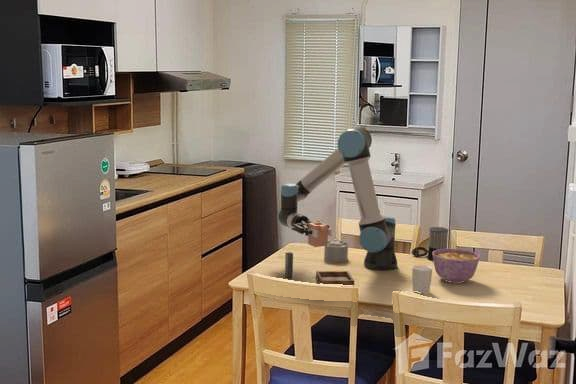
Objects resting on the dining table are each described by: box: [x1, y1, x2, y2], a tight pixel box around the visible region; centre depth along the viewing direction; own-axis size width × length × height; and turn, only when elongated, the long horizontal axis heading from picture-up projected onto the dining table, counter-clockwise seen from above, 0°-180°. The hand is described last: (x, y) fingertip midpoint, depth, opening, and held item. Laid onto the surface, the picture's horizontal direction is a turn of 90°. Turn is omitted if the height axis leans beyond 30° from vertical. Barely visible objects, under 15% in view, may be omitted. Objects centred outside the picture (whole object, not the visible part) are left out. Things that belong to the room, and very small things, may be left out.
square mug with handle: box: [307, 221, 329, 248], centre depth 301 cm, size 6×8×9 cm
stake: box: [284, 252, 294, 280], centre depth 305 cm, size 2×2×11 cm
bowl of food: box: [432, 248, 481, 282], centre depth 308 cm, size 20×20×12 cm
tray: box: [315, 270, 355, 286], centre depth 303 cm, size 14×14×2 cm
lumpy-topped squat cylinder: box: [323, 238, 349, 263], centre depth 339 cm, size 10×13×9 cm
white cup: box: [411, 264, 433, 294], centre depth 291 cm, size 8×8×10 cm
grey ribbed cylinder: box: [411, 226, 450, 262], centre depth 344 cm, size 14×16×15 cm
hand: (324, 233), depth 297 cm, fingers closed on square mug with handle, 6 cm apart
